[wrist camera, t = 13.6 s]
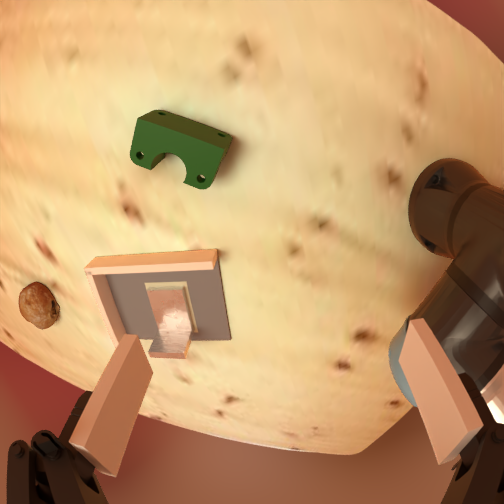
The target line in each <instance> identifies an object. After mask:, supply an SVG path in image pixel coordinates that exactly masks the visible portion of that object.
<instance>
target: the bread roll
mask: <svg viewBox="0 0 504 504" xmlns="http://www.w3.org/2000/svg"><path fill="white" fill-rule="evenodd" d="M19 309H20V312H21V314H22V316H23V317H24V318H25V319H26V320H27V321H28V322H31V323H32V324H34V325H35V326H36V327H37V328H39V329H46V328H49V327H50V326H52V325H53V324H54V322H55V321H56V318H57V317H58V311H59V310H60V309H59V306H58V304H57V303H56V301H55V299H54V297H53V296H52V294H51V292H50V291H49V290H48V288H47V287H46V286H44V285H43V284H41V283H38V282H34V283H32V284H30V285H28V286H27V287H25V288H24V289H23V290H22V291H21V292H20V296H19Z"/></svg>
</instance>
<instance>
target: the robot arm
mask: <svg viewBox="0 0 504 504" xmlns="http://www.w3.org/2000/svg"><path fill="white" fill-rule="evenodd" d="M408 214H409V222H410V226H411V229H412V232H413V234H414V236H415V237H416V239H417V240H418V241H419V242H420V243H421V244H422V245H423V246H424V247H425V248H426V249H427V250H429V251H430V252H432V253H434V254H436V255H440V256H444V257H447V258H451V259H454V260H453V261H452V263H451V264H450V266H449V267H448V269H447V270H446V271H445V272H444V274H443V275H442V277H441V278H440V280H439V281H438V282H437V284H436V285H435V286H434V288H433V289H432V290H431V292H430V293H429V294H428V296H427V297H426V298H425V299H424V301H423V302H422V303H421V304H420V305H419V307H418V308H417V309H416V310H415V312H414V313H413V314H412V315H410V316H408V317H407V319H406V320H405V323H404V325H403V326H402V327H401V329H400V330H399V331H398V332H397V334H396V335H395V336H394V337H393V339H392V341H391V343H390V346H389V364H390V368H391V371H392V374H393V377H394V379H395V381H396V383H397V385H398V387H399V388H400V390H401V392H402V393H403V395H404V396H405V397H406V399H407V400H408V401H409V402H410V403H411V404H412V405H413V406H415V407H418V408H419V411H420V414H421V416H422V419H423V421H424V424H425V427H426V430H427V433H428V435H429V438H430V441H431V444H432V447H433V449H434V453H435V456H436V459H437V461H438V464H439V465H441V464H443V463H446V462H448V461H451V460H453V459H454V458H455V457H456V456H457V455H458V454H459V453H460V456H461V459H460V460H459V461H458V462H457V463H456V464H455V465H454V466H453V468H452V470H454V469H455V468H456V467H457V468H456V471H455V473H454V475H453V478H452V480H451V483H450V485H449V487H448V489H447V492H446V494H445V496H444V498H443V500H442V502H441V504H504V190H502V189H500V188H498V187H495V186H493V185H490V184H489V183H488V182H487V180H486V179H485V178H484V177H483V176H482V175H481V174H480V173H479V172H478V171H477V170H476V169H475V168H474V167H473V166H471V165H470V164H468V163H466V162H463V161H460V160H457V159H452V158H446V159H441V160H438V161H436V162H434V163H432V164H431V165H429V166H428V167H427V168H426V169H425V170H424V171H423V172H422V173H421V174H420V176H419V177H418V179H417V181H416V182H415V184H414V187H413V189H412V192H411V195H410V200H409V208H408ZM152 375H153V371H152V369H151V366H150V364H149V362H148V359H147V357H146V355H145V352H144V350H143V347H142V345H141V342H140V340H139V337H138V335H132V334H124V336H123V337H122V339H121V341H120V343H119V344H118V346H117V348H116V350H115V352H114V353H113V355H112V357H111V359H110V361H109V363H108V364H107V366H106V368H105V370H104V372H103V374H102V376H101V378H100V379H99V381H98V383H97V385H96V387H95V389H94V391H93V392H91V391H86V392H85V393H84V394H82V395H81V397H80V398H79V399H78V401H77V403H76V405H75V408H73V410H72V412H71V415H70V416H69V418H68V420H67V422H66V424H65V426H64V428H63V430H62V432H61V434H60V436H59V438H57V437H56V436H55V435H54V434H53V433H52V432H50V431H48V430H42V431H39V432H37V433H36V434H35V435H34V436H33V438H32V440H31V447H30V446H29V445H28V444H27V443H26V442H24V441H23V440H18V441H15V442H14V443H12V444H11V446H10V448H9V452H8V465H7V504H108V501H107V499H106V497H105V495H104V493H103V491H102V489H101V486H100V484H99V482H98V480H97V477H96V475H95V474H94V469H95V468H96V469H98V470H99V471H100V472H101V473H104V474H107V475H110V476H114V477H116V476H117V473H118V469H119V467H120V464H121V461H122V458H123V455H124V452H125V449H126V446H127V443H128V440H129V437H130V434H131V432H132V429H133V426H134V423H135V420H136V417H137V414H138V412H139V409H140V407H141V404H142V401H143V398H144V396H145V393H146V390H147V388H148V385H149V383H150V380H151V377H152Z"/></svg>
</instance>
